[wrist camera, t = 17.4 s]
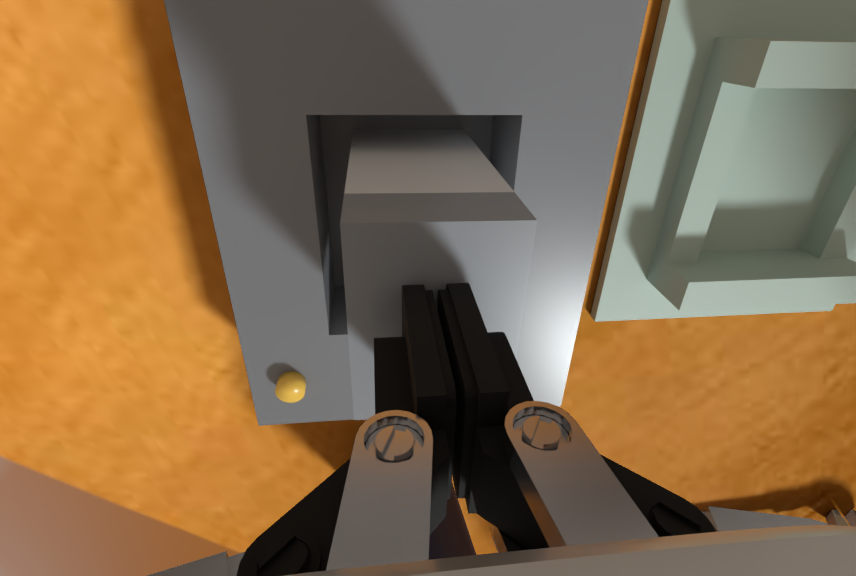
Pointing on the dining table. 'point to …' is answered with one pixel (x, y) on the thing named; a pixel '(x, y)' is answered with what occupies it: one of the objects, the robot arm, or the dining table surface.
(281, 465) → the dining table surface
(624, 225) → the pale green cradle tray
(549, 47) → the block
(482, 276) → the plug
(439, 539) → the speaker
